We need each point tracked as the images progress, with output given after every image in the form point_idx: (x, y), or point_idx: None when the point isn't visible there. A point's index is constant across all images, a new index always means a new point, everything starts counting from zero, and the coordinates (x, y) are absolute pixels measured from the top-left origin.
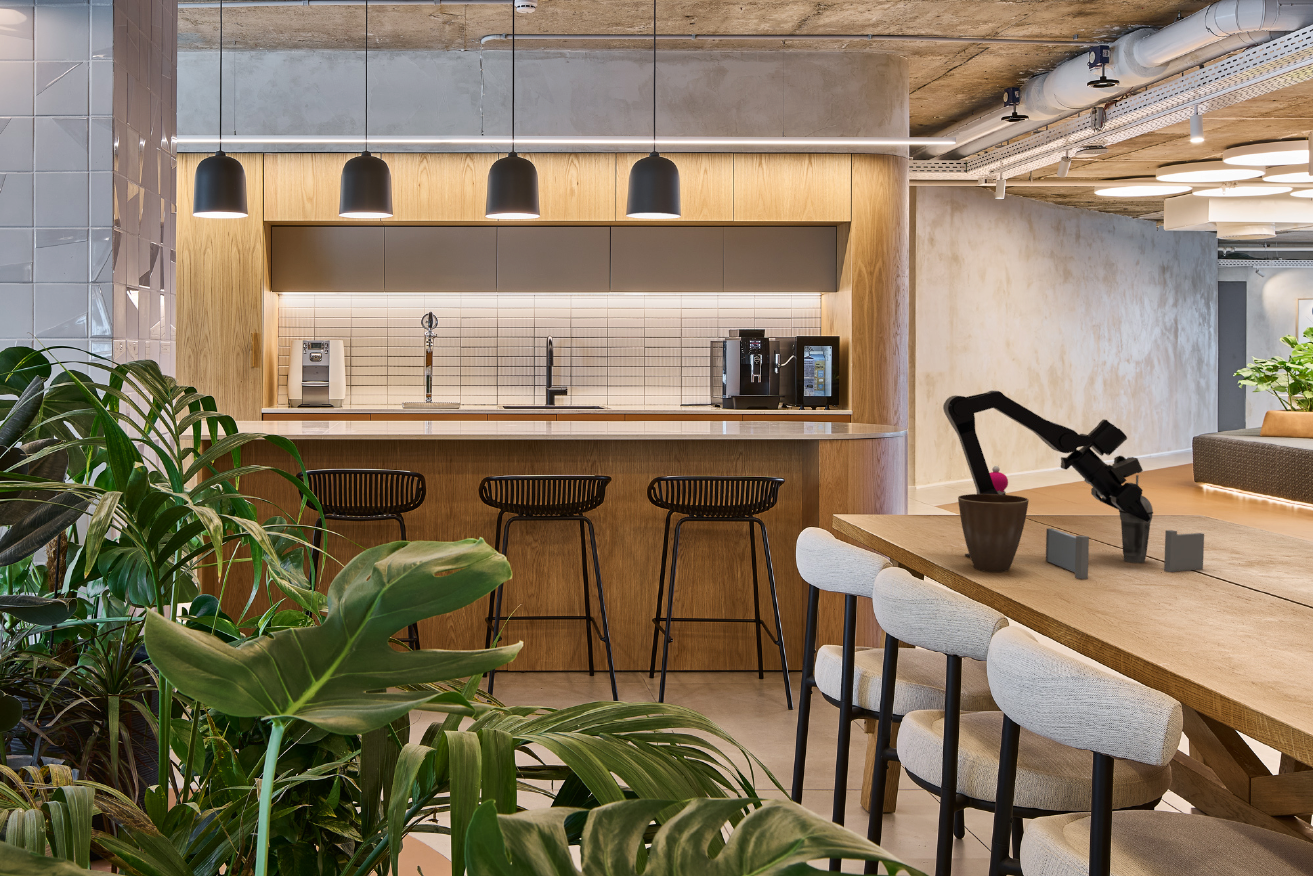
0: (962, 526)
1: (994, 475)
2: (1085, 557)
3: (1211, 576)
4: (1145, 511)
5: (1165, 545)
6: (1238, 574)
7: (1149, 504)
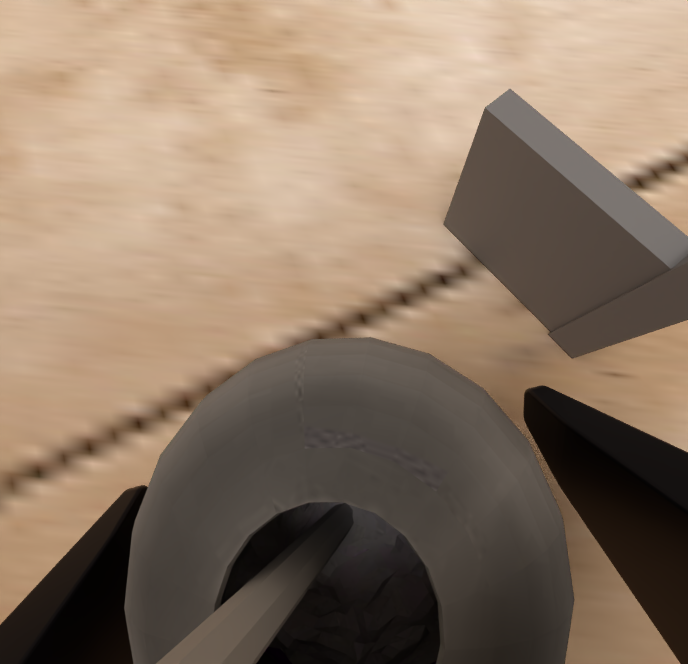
0: None
1: None
2: None
3: None
4: (657, 446)
5: (658, 328)
6: None
7: (444, 369)
